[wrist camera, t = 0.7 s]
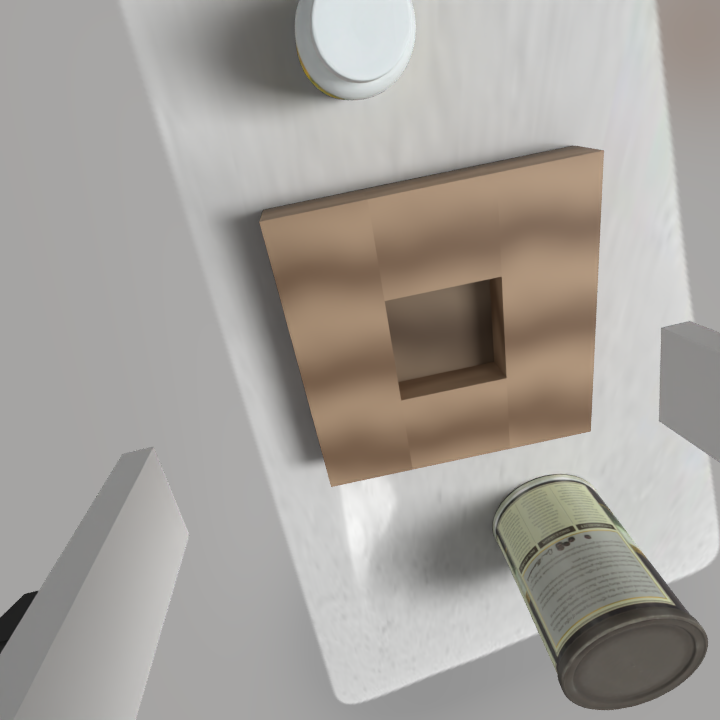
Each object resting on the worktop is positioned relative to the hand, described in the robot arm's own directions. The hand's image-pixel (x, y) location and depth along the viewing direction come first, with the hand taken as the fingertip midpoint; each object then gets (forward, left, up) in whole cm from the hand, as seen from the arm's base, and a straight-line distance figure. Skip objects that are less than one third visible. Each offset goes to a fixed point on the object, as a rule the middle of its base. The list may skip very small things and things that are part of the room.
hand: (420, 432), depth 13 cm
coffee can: (+3, +32, -23) cm, 39 cm away
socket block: (-1, +9, -22) cm, 24 cm away
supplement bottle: (-7, -8, -23) cm, 25 cm away
